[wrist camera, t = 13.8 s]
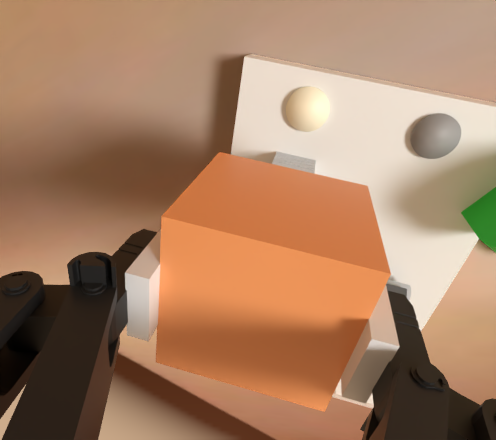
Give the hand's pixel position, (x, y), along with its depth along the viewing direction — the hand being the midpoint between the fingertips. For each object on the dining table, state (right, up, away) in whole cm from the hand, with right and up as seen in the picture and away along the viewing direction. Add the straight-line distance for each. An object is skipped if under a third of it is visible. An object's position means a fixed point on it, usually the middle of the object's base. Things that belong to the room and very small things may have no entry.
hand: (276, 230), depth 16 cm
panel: (+5, +1, +8) cm, 10 cm away
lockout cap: (0, 0, 0) cm, 0 cm away
